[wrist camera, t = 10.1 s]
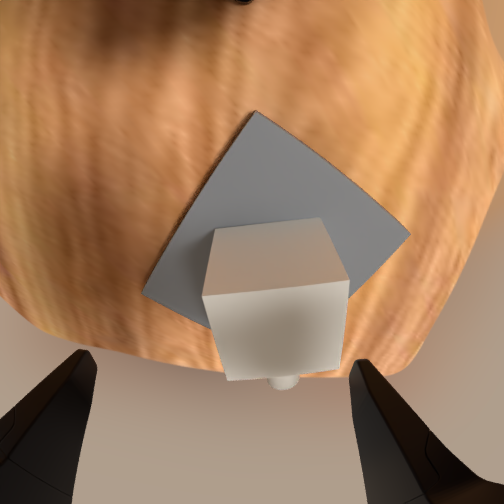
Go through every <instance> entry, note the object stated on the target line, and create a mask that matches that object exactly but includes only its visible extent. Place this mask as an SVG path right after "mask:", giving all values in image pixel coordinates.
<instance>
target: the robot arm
mask: <svg viewBox="0 0 504 504" xmlns="http://www.w3.org/2000/svg"><path fill="white" fill-rule="evenodd" d="M235 1H237V2H239V3H242V4H248V3H251V2H252V1H253V0H235ZM96 374H97V365H96V363H95V361H94V359H93V357H92V355H91V354H90V352H89V351H88V350H82V349H78V350H76V351H75V352H74V353H73V354H72V355H71V356H69V357H68V358H67V359H66V360H65V361H64V362H63V363H62V364H61V365H59V366H58V367H57V368H56V369H55V370H54V371H52V372H51V373H50V374H49V375H48V376H47V377H46V378H45V379H43V380H42V381H41V382H40V383H39V384H38V385H37V386H36V387H35V388H34V389H32V390H31V391H30V392H29V393H28V394H27V395H26V396H25V397H24V398H23V399H22V400H20V401H19V402H18V403H17V404H16V405H15V406H14V407H13V408H12V409H11V410H10V411H9V412H7V413H6V414H5V415H4V416H3V417H2V418H1V419H0V504H72V496H73V489H74V483H75V478H76V472H77V467H78V462H79V457H80V452H81V447H82V442H83V438H84V434H85V429H86V425H87V421H88V417H89V413H90V409H91V404H92V398H93V392H94V386H95V380H96ZM349 385H350V395H351V405H352V417H353V424H354V428H355V434H356V439H357V444H358V449H359V455H360V460H361V465H362V471H363V477H364V483H365V489H366V496H367V502H368V504H504V485H503V484H499V483H494V482H490V481H487V480H485V479H482V478H481V477H479V476H477V475H476V474H475V473H474V472H473V471H471V470H470V469H469V468H468V467H467V466H466V465H465V464H464V463H463V462H461V461H460V460H459V459H458V458H457V457H456V456H455V455H454V454H452V452H451V451H450V450H449V449H448V448H446V447H445V446H444V444H443V443H442V442H441V441H440V440H439V439H438V438H437V437H436V436H435V435H434V433H433V432H432V431H429V430H430V429H429V428H428V427H427V425H426V424H425V423H424V422H423V421H422V420H421V419H420V417H419V416H418V415H417V414H416V413H415V412H414V411H413V410H412V408H411V407H410V406H409V405H408V404H407V403H406V402H405V400H404V399H403V398H402V397H401V396H400V395H399V393H398V392H397V391H396V390H395V389H394V388H393V387H392V386H391V384H390V383H389V382H388V381H387V380H386V379H385V378H384V377H383V375H382V374H381V373H380V372H379V371H378V370H377V369H376V368H375V366H374V365H373V364H372V363H371V362H370V361H369V360H368V359H357V360H356V361H355V362H354V364H353V367H352V369H351V372H350V374H349Z"/></svg>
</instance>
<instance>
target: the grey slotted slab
mask: <svg viewBox="0 0 504 504" xmlns="http://www.w3.org/2000/svg"><path fill="white" fill-rule="evenodd" d="M319 217H320V218H321V220H322V222H323V224H324V226H325V228H326V230H327V232H328V235H329V237H330V239H331V241H332V243H333V245H334V247H335V249H336V251H337V253H338V255H339V258H340V260H341V262H342V264H343V266H344V268H345V271H346V273H347V275H348V277H349V280H350V283H349V294H348V298H350V297H351V296H352V295H353V294H354V293H355V292H356V291H357V290H358V289H359V288H360V287H361V286H362V285H363V284H364V283H365V282H366V281H367V280H368V279H369V278H370V277H371V276H372V275H373V274H374V273H375V272H376V271H377V270H378V269H379V268H380V267H381V266H382V265H383V264H384V263H385V262H386V260H387V259H388V258H389V257H390V256H391V255H392V254H393V253H394V252H395V251H396V250H397V249H398V248H399V247H400V246H401V244H402V243H403V242H404V241H405V240H406V239H407V238H408V237H409V236H410V235H411V234H410V233H409V232H408V230H407V229H406V228H405V227H404V226H403V225H402V224H401V223H400V222H399V221H398V220H397V219H396V218H395V217H393V216H392V215H391V214H390V213H389V212H388V211H387V210H386V209H385V208H383V207H382V206H381V205H380V204H379V203H378V202H377V201H376V200H374V199H373V198H372V197H371V196H370V195H369V194H367V193H366V192H365V191H364V190H363V189H362V188H360V187H359V186H358V185H357V184H356V183H354V182H353V181H352V180H351V179H349V178H348V177H347V176H346V175H345V174H343V173H342V172H341V171H340V170H338V169H337V168H336V167H335V166H333V165H332V164H331V163H329V162H328V161H327V160H326V159H324V158H323V157H322V156H320V155H319V154H318V153H316V152H315V151H314V150H312V149H311V148H310V147H308V146H307V145H306V144H304V143H303V142H302V141H300V140H299V139H297V138H296V137H295V136H293V135H292V134H290V133H289V132H288V131H286V130H285V129H283V128H282V127H280V126H279V125H277V124H276V123H275V122H273V121H272V120H270V119H269V118H267V117H266V116H264V115H263V114H261V113H260V112H258V111H257V110H255V112H254V113H253V115H252V116H251V117H250V119H249V120H248V122H247V123H246V124H245V126H244V127H243V129H242V130H241V131H240V133H239V134H238V136H237V137H236V139H235V140H234V141H233V143H232V144H231V146H230V147H229V149H228V150H227V152H226V153H225V155H224V156H223V158H222V159H221V161H220V162H219V164H218V165H217V167H216V168H215V170H214V171H213V173H212V174H211V176H210V177H209V179H208V180H207V182H206V183H205V185H204V186H203V188H202V190H201V191H200V193H199V194H198V196H197V197H196V199H195V201H194V202H193V204H192V205H191V207H190V209H189V210H188V212H187V214H186V215H185V217H184V218H183V220H182V222H181V223H180V225H179V227H178V228H177V230H176V232H175V233H174V235H173V237H172V238H171V240H170V242H169V243H168V245H167V247H166V249H165V250H164V252H163V254H162V256H161V257H160V259H159V261H158V262H157V264H156V266H155V268H154V270H153V271H152V273H151V275H150V277H149V279H148V280H147V282H146V284H145V286H144V288H143V291H142V293H141V294H143V295H144V296H146V297H148V298H150V299H152V300H154V301H155V302H157V303H159V304H161V305H163V306H165V307H167V308H169V309H171V310H173V311H175V312H177V313H178V314H180V315H182V316H184V317H186V318H188V319H190V320H192V321H194V322H196V323H198V324H201V325H203V326H205V327H207V328H209V329H211V326H210V323H209V320H208V316H207V313H206V309H205V306H204V302H203V299H202V292H203V287H204V282H205V276H206V271H207V266H208V261H209V256H210V251H211V247H212V242H213V237H214V232H215V229H218V228H227V227H235V226H244V225H253V224H262V223H271V222H280V221H289V220H299V219H309V218H319Z"/></svg>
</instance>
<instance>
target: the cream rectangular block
mask: <svg viewBox="0 0 504 504" xmlns="http://www.w3.org/2000/svg"><path fill="white" fill-rule="evenodd" d="M349 283H350V280H349V277H348V275H347V273H346V271H345V268H344V266H343V264H342V262H341V260H340V258H339V255H338V253H337V251H336V249H335V247H334V245H333V243H332V241H331V239H330V237H329V235H328V232H327V230H326V228H325V226H324V224H323V222H322V220H321V218H320V217H319V218H309V219H299V220H289V221H280V222H271V223H262V224H253V225H244V226H235V227H227V228H218V229H215V232H214V237H213V242H212V247H211V251H210V256H209V261H208V266H207V271H206V276H205V282H204V287H203V292H202V299H203V302H204V306H205V309H206V313H207V316H208V320H209V323H210V326H211V330H212V333H213V336H214V340H215V343H216V346H217V349H218V353H219V356H220V359H221V362H222V365H223V368H224V371H225V375H226V378H227V380H228V381H232V380H248V379H261V378H267V382H268V384H269V385H270V386H271V387H273V388H275V389H278V390H286V389H290V388H292V387H294V386H295V385H296V384H297V382H298V381H299V375H300V374H308V373H315V372H322V371H329V370H335V369H339V367H340V360H341V353H342V346H343V339H344V331H345V323H346V314H347V304H348V294H349Z"/></svg>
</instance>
